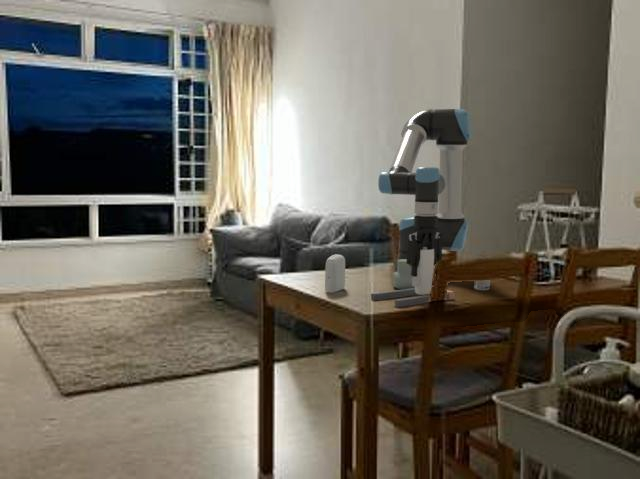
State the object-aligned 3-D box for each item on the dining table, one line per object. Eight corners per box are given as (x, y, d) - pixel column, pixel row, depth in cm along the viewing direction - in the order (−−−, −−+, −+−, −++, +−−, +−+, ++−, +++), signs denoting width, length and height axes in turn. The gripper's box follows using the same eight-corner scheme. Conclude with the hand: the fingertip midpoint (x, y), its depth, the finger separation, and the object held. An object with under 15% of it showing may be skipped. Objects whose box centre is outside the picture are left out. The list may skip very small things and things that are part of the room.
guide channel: (425, 292, 223) (425, 285, 223) (453, 299, 212) (453, 291, 212) (371, 299, 209) (371, 291, 209) (398, 307, 199) (398, 299, 198)
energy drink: (490, 288, 232) (491, 255, 231) (488, 291, 227) (490, 257, 226) (474, 287, 234) (476, 254, 233) (473, 289, 229) (474, 256, 228)
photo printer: (335, 293, 218) (335, 257, 217) (323, 292, 220) (324, 256, 219) (346, 288, 228) (347, 253, 226) (335, 287, 229) (335, 252, 228)
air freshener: (390, 285, 235) (391, 258, 234) (412, 285, 236) (413, 258, 235) (396, 291, 224) (397, 262, 223) (420, 291, 225) (421, 262, 224)
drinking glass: (410, 291, 217) (411, 247, 215) (430, 291, 217) (431, 246, 215) (415, 295, 210) (416, 250, 208) (435, 295, 211) (436, 249, 209)
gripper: (411, 216, 202) (409, 290, 205) (455, 214, 213) (452, 284, 215) (395, 215, 208) (393, 286, 211) (439, 213, 219) (436, 280, 222)
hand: (423, 285), depth 213 cm, fingers closed on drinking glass, 6 cm apart
